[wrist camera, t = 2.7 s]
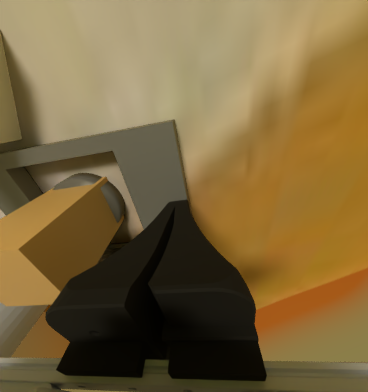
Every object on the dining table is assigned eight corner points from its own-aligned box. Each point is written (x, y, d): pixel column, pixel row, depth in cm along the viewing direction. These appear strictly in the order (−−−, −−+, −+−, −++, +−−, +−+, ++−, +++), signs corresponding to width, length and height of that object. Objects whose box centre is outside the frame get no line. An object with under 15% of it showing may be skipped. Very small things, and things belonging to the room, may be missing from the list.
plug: (81, 227, 15) (5, 312, 9) (49, 177, 12) (-90, 248, 6) (133, 222, 14) (88, 309, 8) (110, 168, 12) (20, 236, 6)
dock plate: (74, 272, 19) (67, 282, 17) (-22, 157, 12) (-43, 162, 11) (201, 264, 17) (201, 275, 16) (174, 119, 10) (172, 121, 9)
